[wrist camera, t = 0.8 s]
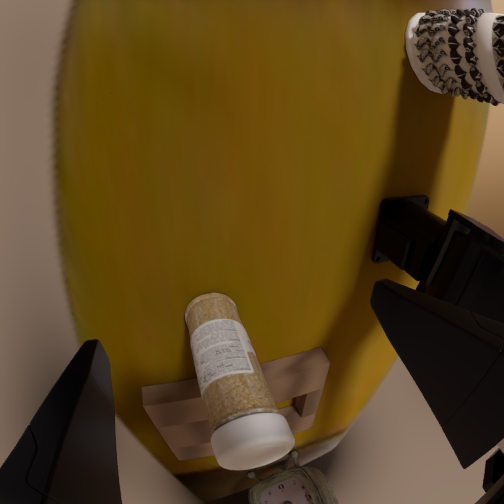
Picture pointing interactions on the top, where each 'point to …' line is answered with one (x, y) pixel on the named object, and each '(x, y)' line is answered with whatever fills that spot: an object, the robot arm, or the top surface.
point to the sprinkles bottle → (234, 387)
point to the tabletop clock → (292, 486)
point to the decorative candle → (458, 53)
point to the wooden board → (194, 411)
